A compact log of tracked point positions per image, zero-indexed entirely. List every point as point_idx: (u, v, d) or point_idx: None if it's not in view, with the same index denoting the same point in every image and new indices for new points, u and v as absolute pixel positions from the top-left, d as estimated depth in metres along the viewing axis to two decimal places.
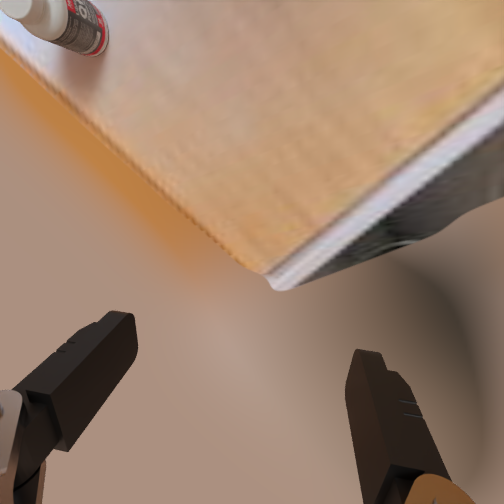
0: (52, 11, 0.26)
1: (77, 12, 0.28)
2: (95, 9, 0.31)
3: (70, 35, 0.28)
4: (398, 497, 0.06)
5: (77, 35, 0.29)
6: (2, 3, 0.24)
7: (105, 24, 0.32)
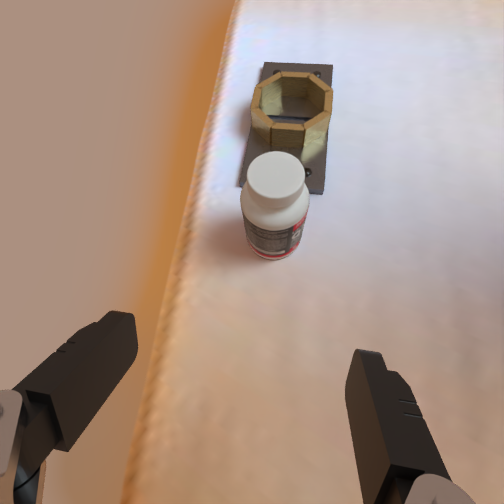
0: (282, 214, 0.20)
1: (294, 232, 0.22)
2: (300, 237, 0.26)
3: (267, 235, 0.22)
4: (397, 497, 0.06)
5: (271, 239, 0.22)
6: (255, 168, 0.19)
7: (293, 250, 0.26)
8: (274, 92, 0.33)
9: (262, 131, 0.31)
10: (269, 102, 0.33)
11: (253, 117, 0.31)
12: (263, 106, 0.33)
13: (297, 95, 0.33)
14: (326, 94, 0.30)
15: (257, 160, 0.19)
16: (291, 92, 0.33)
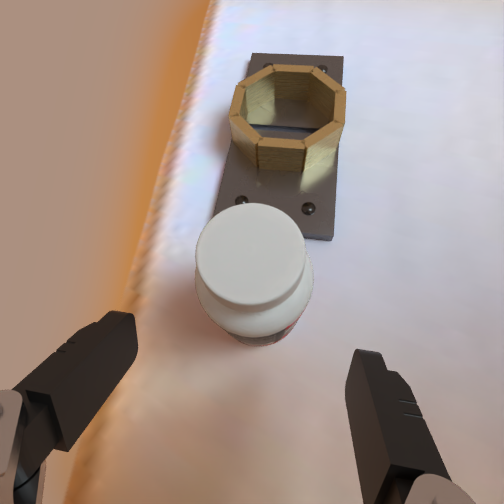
0: (265, 315, 0.11)
1: (287, 328, 0.13)
2: None
3: (241, 337, 0.13)
4: (398, 498, 0.06)
5: (249, 340, 0.13)
6: (212, 238, 0.10)
7: (288, 333, 0.17)
8: (264, 93, 0.24)
9: (245, 148, 0.22)
10: (257, 107, 0.24)
11: (233, 128, 0.22)
12: (249, 112, 0.24)
13: (295, 97, 0.24)
14: (336, 96, 0.21)
15: (217, 221, 0.10)
16: (287, 93, 0.24)
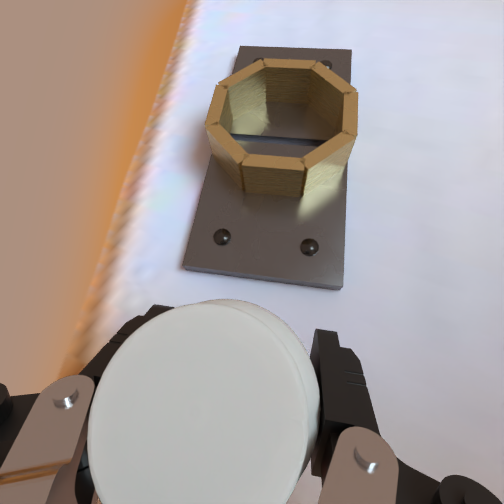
0: None
1: None
2: None
3: None
4: (330, 448, 0.06)
5: None
6: (125, 384, 0.05)
7: None
8: (252, 95, 0.19)
9: (227, 166, 0.17)
10: (245, 112, 0.20)
11: (211, 141, 0.17)
12: (234, 119, 0.19)
13: (292, 100, 0.20)
14: (345, 99, 0.16)
15: (138, 344, 0.05)
16: (282, 95, 0.19)
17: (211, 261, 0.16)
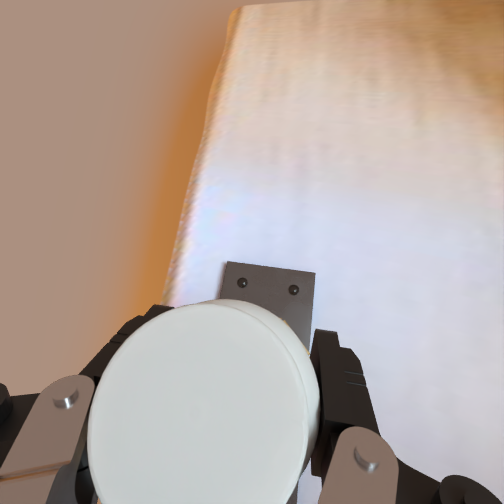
0: None
1: None
2: None
3: None
4: (330, 448, 0.06)
5: None
6: (125, 385, 0.05)
7: None
8: None
9: None
10: None
11: None
12: None
13: None
14: None
15: (138, 344, 0.05)
16: None
17: None
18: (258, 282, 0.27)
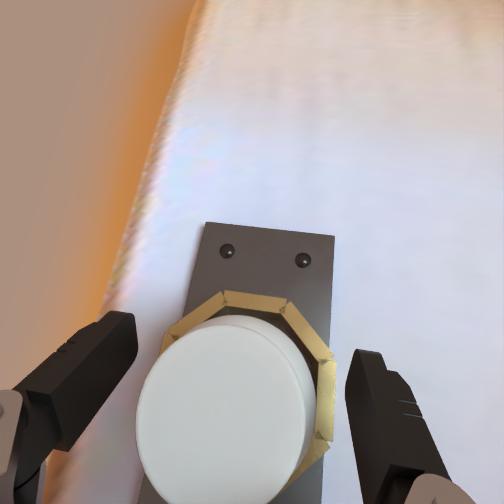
0: None
1: None
2: None
3: None
4: (397, 497, 0.06)
5: None
6: (162, 390, 0.07)
7: None
8: None
9: None
10: None
11: None
12: None
13: (263, 318, 0.16)
14: (320, 373, 0.13)
15: (171, 357, 0.07)
16: (250, 315, 0.16)
17: None
18: (250, 250, 0.18)
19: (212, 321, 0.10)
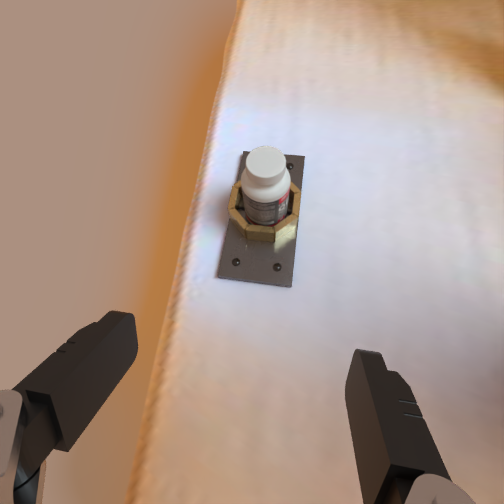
0: (270, 190, 0.28)
1: (280, 205, 0.30)
2: (286, 212, 0.34)
3: (260, 207, 0.30)
4: (398, 497, 0.06)
5: (263, 210, 0.31)
6: (251, 158, 0.27)
7: None
8: None
9: (238, 227, 0.35)
10: None
11: (230, 215, 0.34)
12: (241, 198, 0.37)
13: None
14: (295, 196, 0.34)
15: (253, 152, 0.28)
16: None
17: (231, 273, 0.33)
18: None
19: None
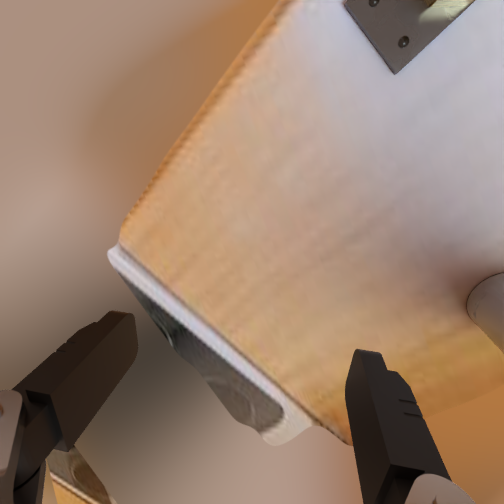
0: None
1: None
2: None
3: None
4: (398, 497, 0.06)
5: None
6: None
7: None
8: None
9: None
10: None
11: None
12: None
13: None
14: None
15: None
16: None
17: (359, 12, 0.28)
18: None
19: None
